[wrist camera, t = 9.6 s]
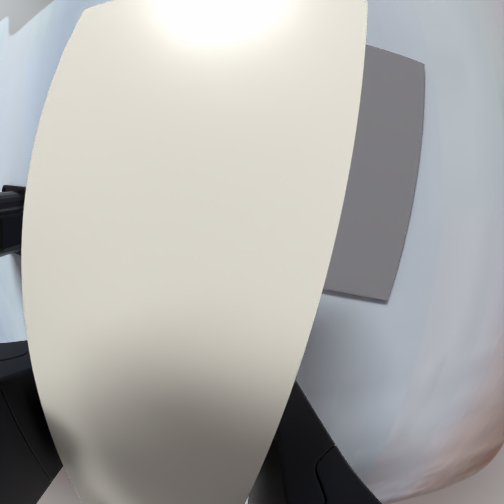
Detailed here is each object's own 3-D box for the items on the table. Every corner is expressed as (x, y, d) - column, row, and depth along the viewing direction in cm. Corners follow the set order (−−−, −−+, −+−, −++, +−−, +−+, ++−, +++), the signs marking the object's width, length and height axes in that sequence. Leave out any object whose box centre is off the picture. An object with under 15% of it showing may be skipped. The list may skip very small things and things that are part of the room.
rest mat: (281, 278, 18) (281, 280, 17) (321, 37, 14) (322, 34, 14) (386, 298, 17) (387, 300, 17) (422, 66, 13) (424, 64, 13)
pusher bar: (156, 442, 11) (98, 531, 5) (199, 110, 8) (84, 9, 2) (238, 468, 10) (207, 572, 4) (324, 130, 8) (367, 1, 2)
